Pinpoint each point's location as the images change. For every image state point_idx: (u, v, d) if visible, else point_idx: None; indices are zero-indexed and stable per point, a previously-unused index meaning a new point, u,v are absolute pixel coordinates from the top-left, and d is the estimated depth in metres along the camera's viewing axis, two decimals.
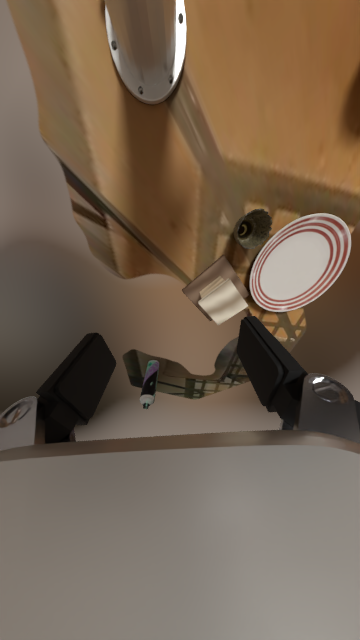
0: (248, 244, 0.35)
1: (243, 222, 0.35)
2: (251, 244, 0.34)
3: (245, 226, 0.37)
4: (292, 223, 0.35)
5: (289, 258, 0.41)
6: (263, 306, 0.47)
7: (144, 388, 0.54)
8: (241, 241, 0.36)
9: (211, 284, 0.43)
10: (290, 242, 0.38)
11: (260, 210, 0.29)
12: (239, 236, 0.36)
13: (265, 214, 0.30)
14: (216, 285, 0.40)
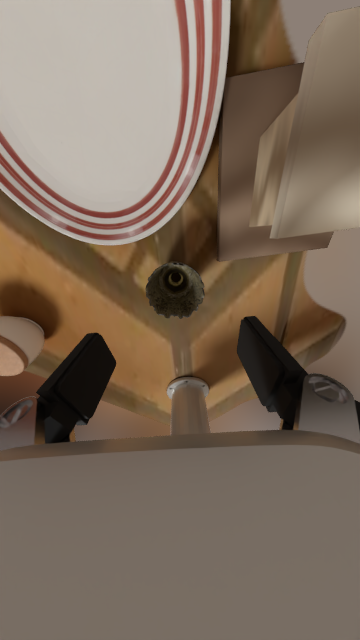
0: (183, 264, 0.18)
1: (173, 290, 0.23)
2: (180, 264, 0.18)
3: (169, 278, 0.24)
4: (100, 242, 0.19)
5: (93, 146, 0.15)
6: None
7: None
8: (186, 269, 0.21)
9: None
10: (96, 196, 0.18)
11: (159, 311, 0.19)
12: (185, 276, 0.22)
13: (152, 300, 0.19)
14: None
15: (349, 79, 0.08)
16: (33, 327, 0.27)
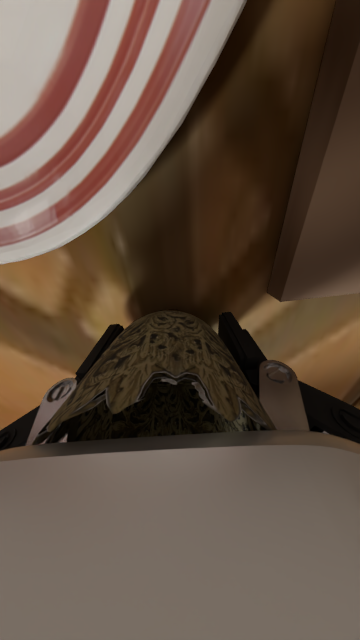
0: None
1: None
2: None
3: None
4: None
5: None
6: None
7: None
8: None
9: None
10: None
11: None
12: None
13: None
14: None
15: None
16: None
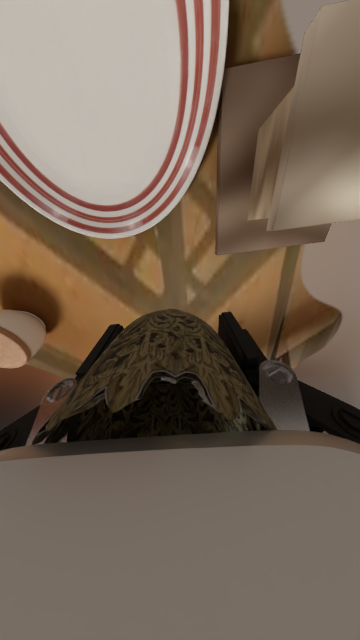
0: None
1: None
2: None
3: None
4: (101, 236, 0.19)
5: (92, 138, 0.16)
6: None
7: None
8: None
9: None
10: (96, 189, 0.18)
11: None
12: None
13: None
14: None
15: (343, 72, 0.08)
16: (35, 320, 0.27)
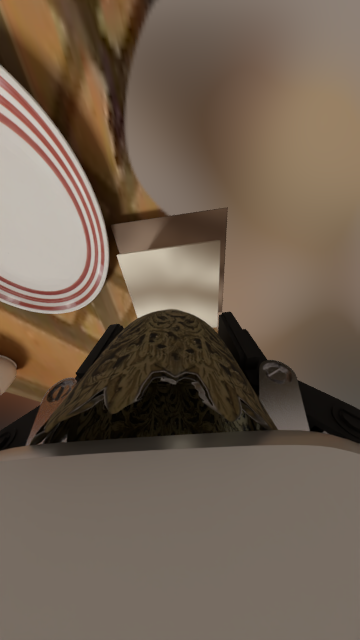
0: None
1: None
2: None
3: None
4: (45, 312, 0.25)
5: (31, 255, 0.22)
6: (68, 153, 0.14)
7: None
8: None
9: None
10: (39, 281, 0.24)
11: None
12: None
13: None
14: None
15: (144, 274, 0.14)
16: (5, 363, 0.33)
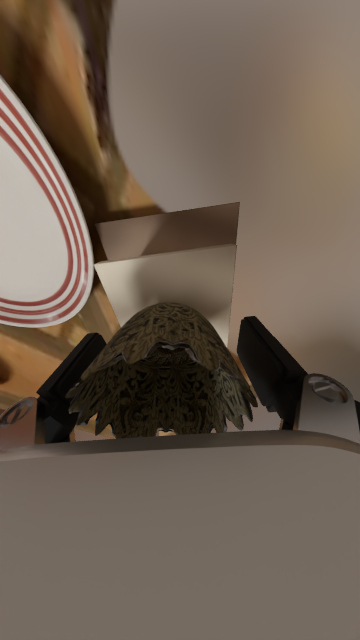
0: None
1: None
2: None
3: None
4: (24, 326, 0.22)
5: (2, 260, 0.18)
6: (30, 127, 0.11)
7: None
8: None
9: None
10: (15, 291, 0.20)
11: (126, 432, 0.08)
12: None
13: (106, 411, 0.07)
14: None
15: (132, 289, 0.11)
16: None
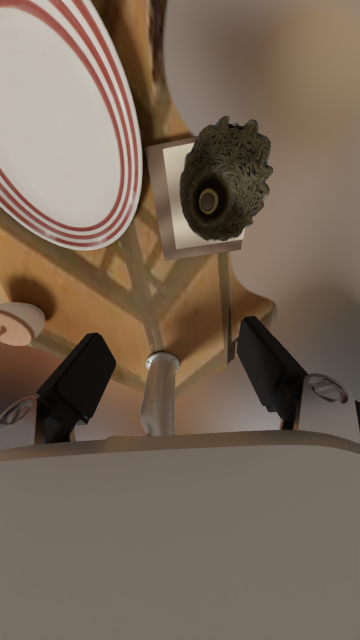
0: (232, 151, 0.12)
1: (205, 217, 0.17)
2: (231, 144, 0.11)
3: (198, 204, 0.18)
4: (79, 248, 0.28)
5: (68, 186, 0.24)
6: (114, 59, 0.16)
7: None
8: (229, 175, 0.15)
9: None
10: (73, 217, 0.26)
11: (194, 229, 0.13)
12: (224, 192, 0.16)
13: (185, 211, 0.13)
14: None
15: None
16: (36, 310, 0.36)
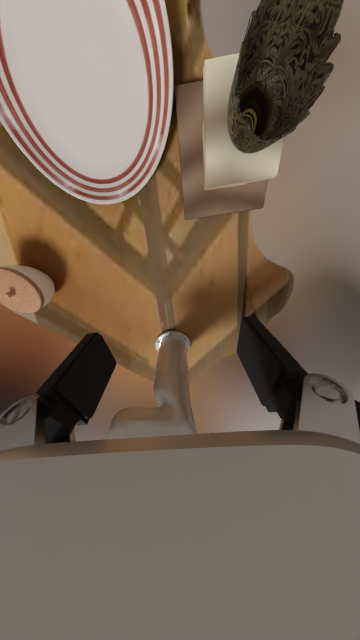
0: (289, 37, 0.12)
1: None
2: (291, 21, 0.11)
3: None
4: (98, 202, 0.27)
5: (92, 131, 0.23)
6: None
7: None
8: (275, 82, 0.14)
9: (224, 186, 0.25)
10: (95, 167, 0.25)
11: None
12: (266, 107, 0.15)
13: None
14: None
15: (224, 91, 0.16)
16: (46, 277, 0.35)
